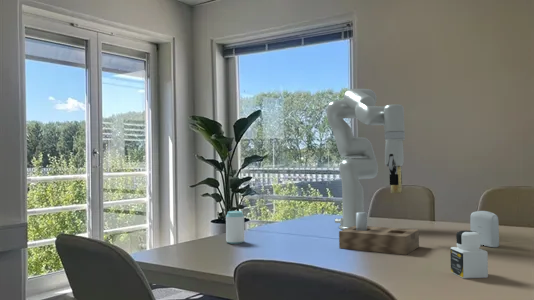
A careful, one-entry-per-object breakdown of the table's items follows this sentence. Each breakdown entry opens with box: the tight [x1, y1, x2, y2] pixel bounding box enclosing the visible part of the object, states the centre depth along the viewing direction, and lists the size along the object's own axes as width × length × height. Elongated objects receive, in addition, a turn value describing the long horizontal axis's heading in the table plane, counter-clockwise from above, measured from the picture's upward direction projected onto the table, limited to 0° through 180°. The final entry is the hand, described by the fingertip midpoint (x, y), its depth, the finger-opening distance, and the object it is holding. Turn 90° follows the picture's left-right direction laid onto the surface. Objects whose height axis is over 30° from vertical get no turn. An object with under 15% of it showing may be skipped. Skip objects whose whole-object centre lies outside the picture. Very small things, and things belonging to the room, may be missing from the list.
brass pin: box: [390, 167, 403, 194], centre depth 181 cm, size 4×4×10 cm
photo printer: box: [469, 210, 500, 248], centre depth 171 cm, size 10×4×12 cm, turn 26°
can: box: [225, 210, 245, 245], centre depth 184 cm, size 7×7×12 cm
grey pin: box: [356, 211, 368, 231], centre depth 174 cm, size 4×4×10 cm
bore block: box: [338, 225, 420, 256], centre depth 170 cm, size 24×16×6 cm, turn 58°
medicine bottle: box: [450, 230, 489, 280], centre depth 130 cm, size 7×7×12 cm
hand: (395, 184), depth 181 cm, fingers closed on brass pin, 4 cm apart
